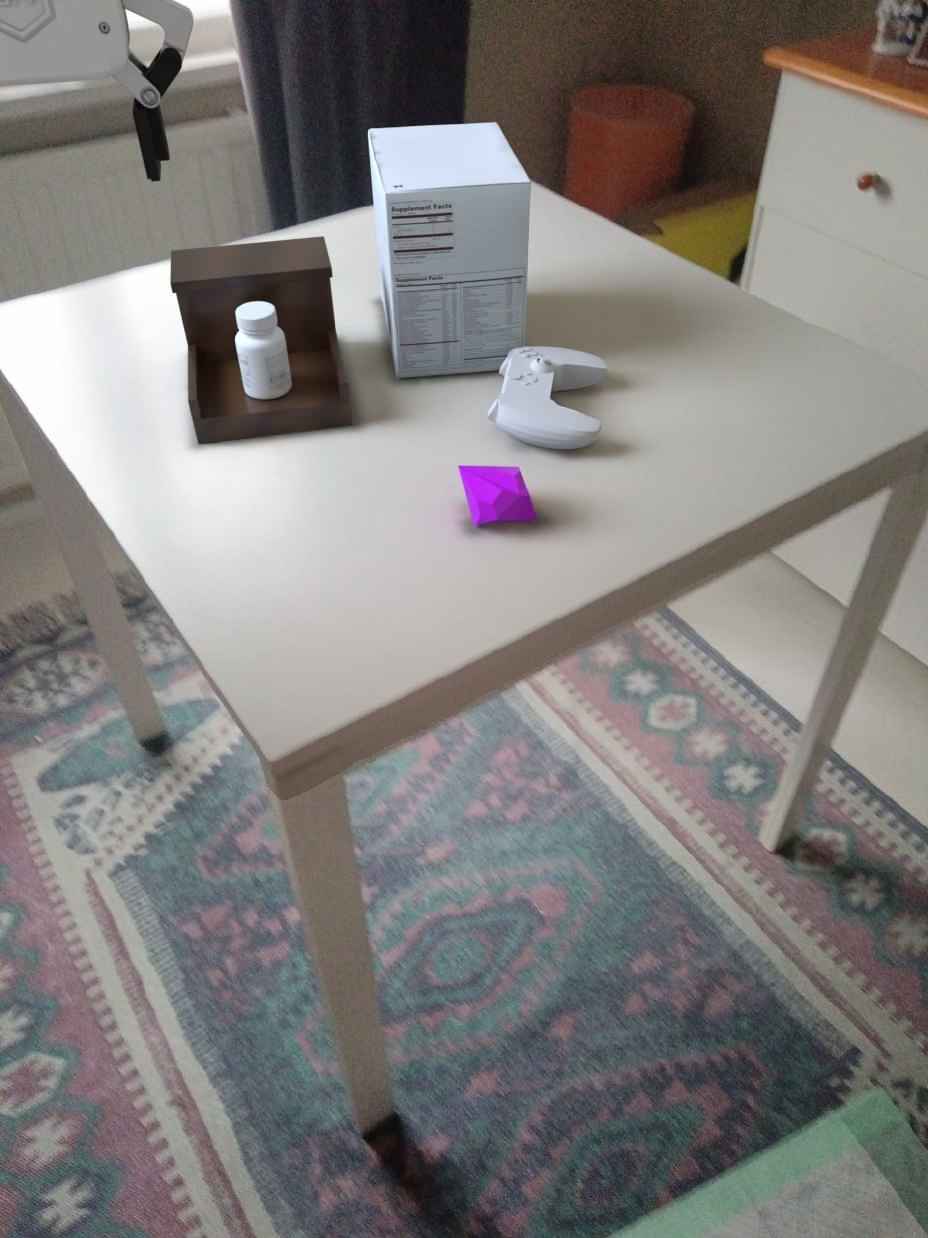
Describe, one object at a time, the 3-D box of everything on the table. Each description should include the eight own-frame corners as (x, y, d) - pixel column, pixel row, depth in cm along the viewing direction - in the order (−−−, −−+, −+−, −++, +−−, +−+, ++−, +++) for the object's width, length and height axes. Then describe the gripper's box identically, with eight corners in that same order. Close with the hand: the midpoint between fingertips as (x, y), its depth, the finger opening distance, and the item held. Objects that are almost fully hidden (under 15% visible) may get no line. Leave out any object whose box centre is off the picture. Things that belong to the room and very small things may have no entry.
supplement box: (528, 370, 97) (535, 182, 84) (394, 382, 96) (382, 192, 83) (497, 291, 109) (499, 117, 97) (378, 301, 108) (365, 125, 95)
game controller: (605, 431, 83) (491, 401, 83) (590, 472, 86) (480, 443, 86) (612, 347, 93) (510, 321, 93) (598, 387, 97) (500, 361, 96)
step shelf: (196, 444, 88) (169, 331, 81) (194, 356, 100) (170, 250, 92) (354, 425, 90) (343, 313, 83) (335, 340, 102) (323, 235, 94)
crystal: (486, 543, 78) (486, 496, 75) (453, 507, 81) (452, 461, 78) (541, 523, 80) (543, 476, 76) (506, 488, 83) (507, 442, 80)
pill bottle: (297, 377, 92) (285, 298, 86) (286, 402, 88) (273, 322, 83) (251, 375, 92) (237, 296, 87) (239, 400, 89) (223, 320, 83)
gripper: (-252, -176, 43) (-93, 217, 55) (154, -189, 45) (221, 191, 57) (-204, -193, 48) (-69, 170, 60) (157, -203, 50) (217, 147, 62)
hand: (72, 180), depth 58 cm, fingers open, 9 cm apart
